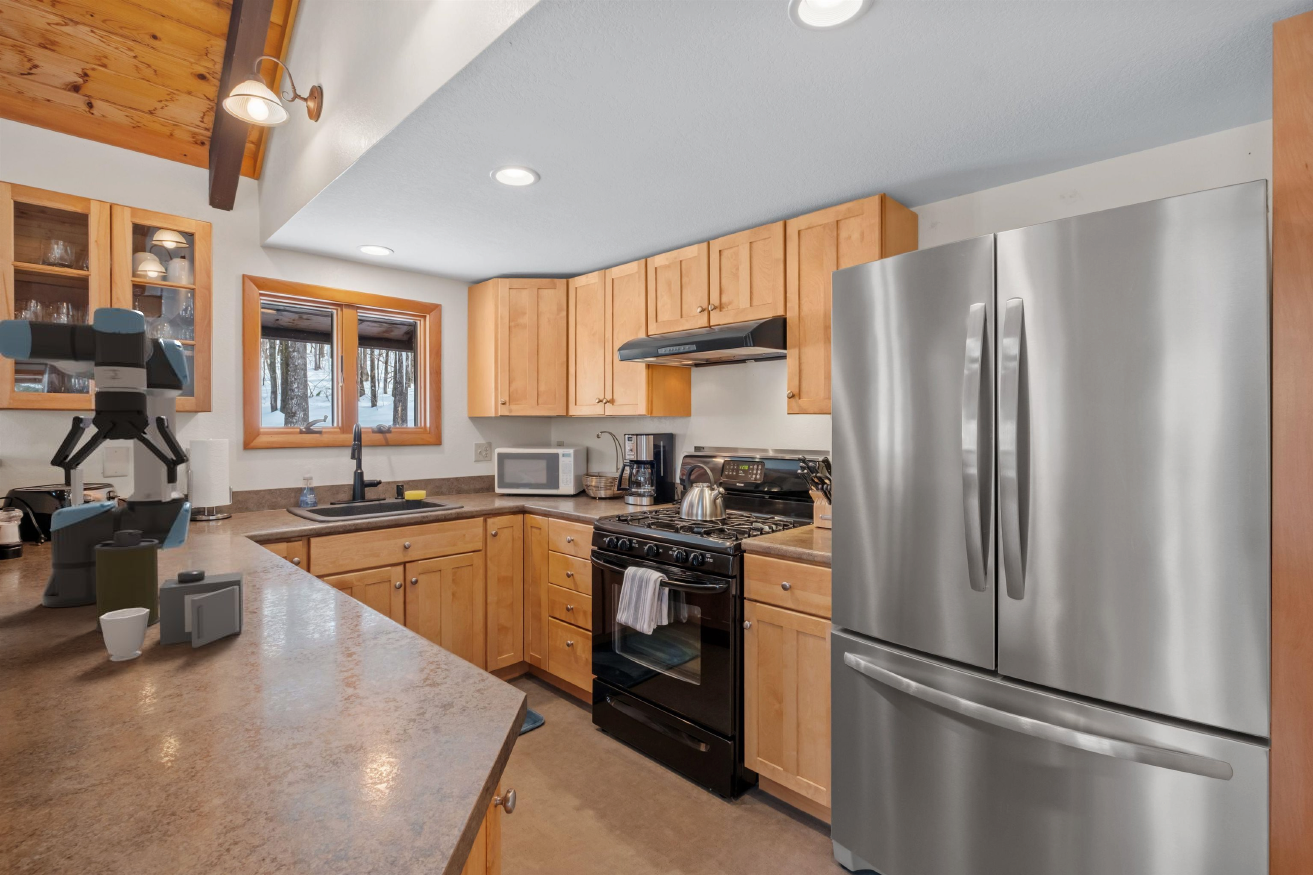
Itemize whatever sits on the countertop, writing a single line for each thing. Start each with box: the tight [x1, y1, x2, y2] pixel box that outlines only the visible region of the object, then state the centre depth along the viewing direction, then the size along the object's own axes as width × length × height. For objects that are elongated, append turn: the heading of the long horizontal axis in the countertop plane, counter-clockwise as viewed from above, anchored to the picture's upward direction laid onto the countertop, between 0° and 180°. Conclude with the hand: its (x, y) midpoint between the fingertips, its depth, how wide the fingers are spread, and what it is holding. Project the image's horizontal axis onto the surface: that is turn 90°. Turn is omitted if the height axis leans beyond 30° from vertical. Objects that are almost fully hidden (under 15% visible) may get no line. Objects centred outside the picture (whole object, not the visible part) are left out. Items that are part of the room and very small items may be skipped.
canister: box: [94, 530, 160, 633], centre depth 132 cm, size 11×10×20 cm
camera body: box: [158, 569, 244, 646], centre depth 126 cm, size 8×13×12 cm, turn 121°
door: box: [191, 586, 239, 648], centre depth 121 cm, size 2×10×9 cm, turn 171°
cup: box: [99, 608, 150, 662], centre depth 115 cm, size 7×10×8 cm
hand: (123, 502), depth 118 cm, fingers open, 13 cm apart
